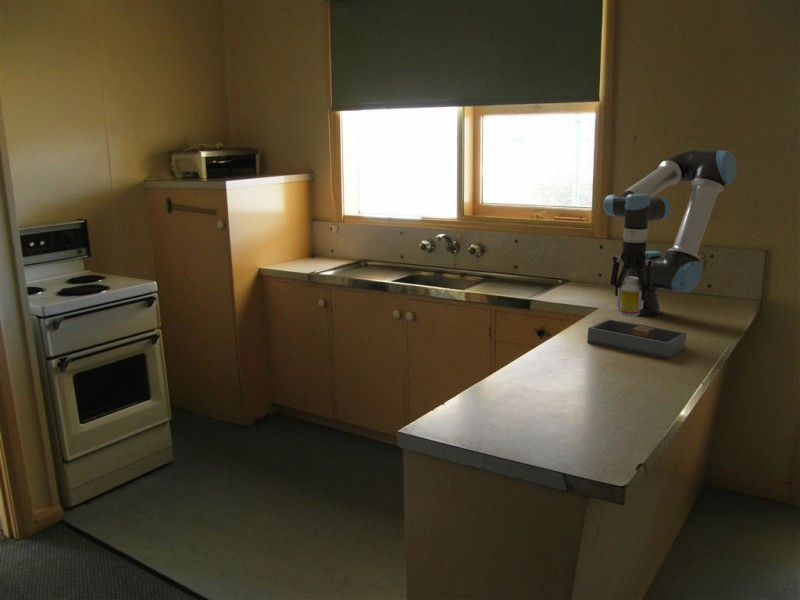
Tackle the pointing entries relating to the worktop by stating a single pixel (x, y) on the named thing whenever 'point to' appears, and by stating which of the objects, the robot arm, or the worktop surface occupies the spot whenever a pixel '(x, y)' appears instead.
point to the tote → (636, 339)
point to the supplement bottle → (629, 297)
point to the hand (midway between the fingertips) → (629, 307)
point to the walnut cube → (643, 332)
